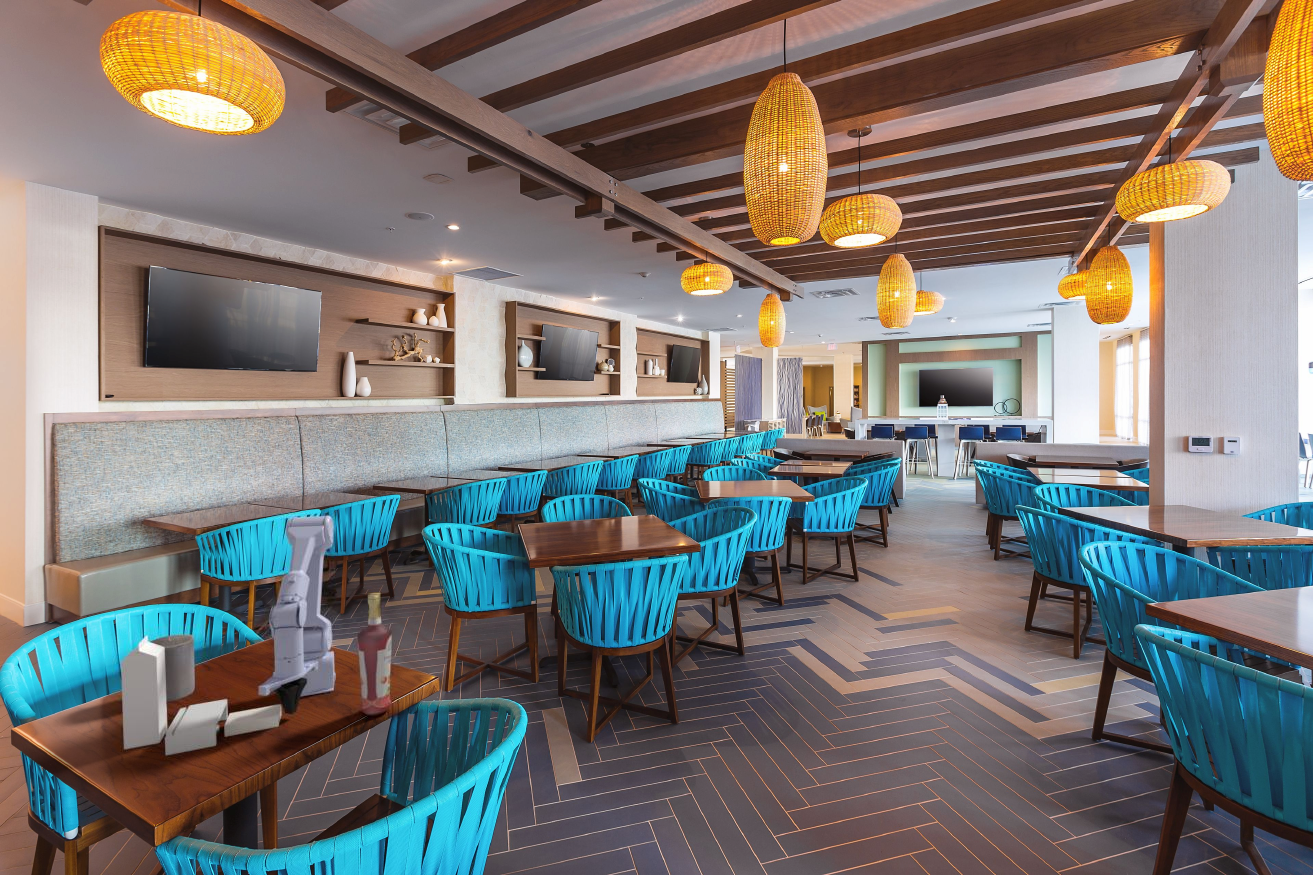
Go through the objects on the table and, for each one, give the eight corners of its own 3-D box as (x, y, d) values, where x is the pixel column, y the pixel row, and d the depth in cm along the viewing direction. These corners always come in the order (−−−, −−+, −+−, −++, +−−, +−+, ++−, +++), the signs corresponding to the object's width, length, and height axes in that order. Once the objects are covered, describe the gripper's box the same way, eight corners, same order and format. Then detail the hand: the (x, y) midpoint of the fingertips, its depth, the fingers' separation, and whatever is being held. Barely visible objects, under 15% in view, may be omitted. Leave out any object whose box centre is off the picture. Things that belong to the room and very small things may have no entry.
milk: (167, 730, 135) (165, 632, 135) (159, 743, 130) (157, 641, 129) (132, 736, 133) (130, 636, 132) (122, 750, 127) (120, 646, 127)
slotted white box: (227, 717, 141) (227, 698, 141) (215, 745, 129) (215, 724, 129) (182, 726, 137) (181, 706, 137) (165, 755, 125) (164, 733, 125)
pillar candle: (135, 701, 149) (133, 641, 148) (175, 683, 158) (174, 627, 158) (166, 706, 147) (165, 645, 146) (205, 688, 156) (203, 630, 155)
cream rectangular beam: (281, 714, 142) (281, 703, 142) (278, 726, 137) (278, 715, 137) (230, 723, 138) (229, 713, 138) (224, 736, 133) (224, 725, 132)
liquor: (387, 717, 141) (385, 598, 140) (354, 719, 140) (352, 599, 139) (396, 702, 148) (394, 589, 147) (365, 704, 147) (362, 590, 146)
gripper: (300, 641, 148) (302, 696, 149) (246, 665, 134) (248, 725, 135) (324, 644, 146) (326, 699, 147) (272, 668, 132) (274, 729, 133)
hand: (290, 712), depth 141 cm, fingers closed
